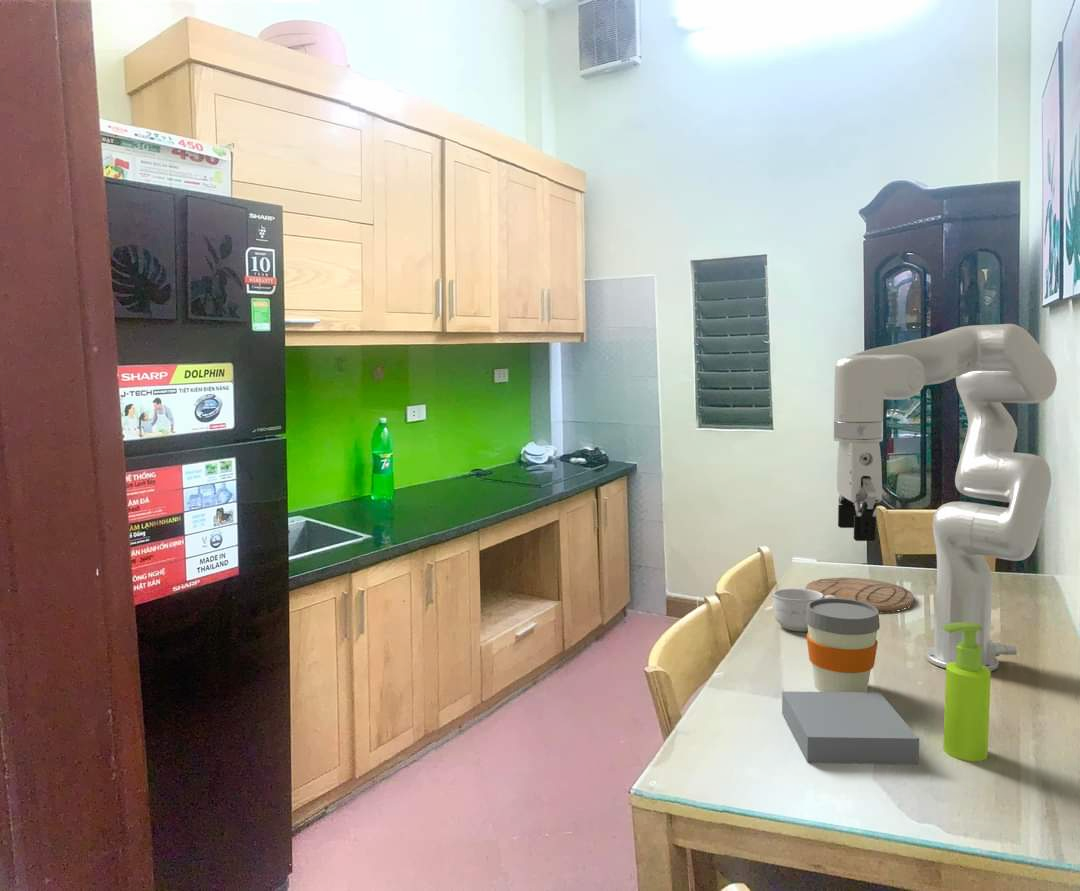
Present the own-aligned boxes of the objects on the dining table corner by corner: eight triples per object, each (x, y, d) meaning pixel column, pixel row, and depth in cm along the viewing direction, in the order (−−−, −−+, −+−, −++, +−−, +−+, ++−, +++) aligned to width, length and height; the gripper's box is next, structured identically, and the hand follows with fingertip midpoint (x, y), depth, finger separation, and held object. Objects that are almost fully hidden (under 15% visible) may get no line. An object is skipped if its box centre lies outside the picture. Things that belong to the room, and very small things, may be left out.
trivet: (793, 603, 191) (793, 596, 191) (820, 579, 212) (820, 572, 211) (903, 621, 177) (903, 613, 177) (921, 593, 197) (921, 586, 197)
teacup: (770, 632, 171) (770, 597, 170) (775, 617, 181) (775, 583, 180) (838, 640, 165) (838, 603, 164) (839, 623, 175) (839, 589, 174)
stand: (879, 715, 130) (879, 692, 130) (918, 764, 114) (919, 738, 114) (782, 714, 131) (782, 691, 131) (807, 762, 116) (807, 736, 115)
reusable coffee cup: (852, 671, 149) (854, 595, 147) (893, 699, 136) (895, 616, 135) (791, 677, 146) (792, 600, 145) (827, 706, 134) (828, 622, 133)
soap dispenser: (928, 743, 120) (933, 619, 118) (971, 741, 121) (976, 616, 119) (952, 763, 115) (956, 632, 112) (996, 760, 115) (1002, 629, 113)
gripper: (899, 436, 119) (896, 546, 121) (866, 427, 136) (864, 523, 138) (848, 437, 120) (846, 545, 122) (821, 427, 137) (820, 522, 139)
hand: (855, 533), depth 130 cm, fingers open, 9 cm apart
